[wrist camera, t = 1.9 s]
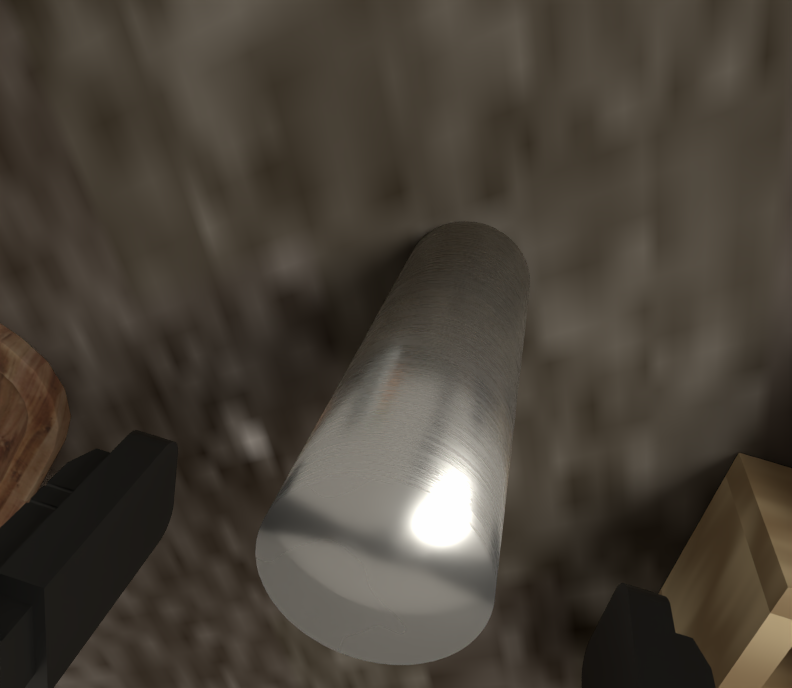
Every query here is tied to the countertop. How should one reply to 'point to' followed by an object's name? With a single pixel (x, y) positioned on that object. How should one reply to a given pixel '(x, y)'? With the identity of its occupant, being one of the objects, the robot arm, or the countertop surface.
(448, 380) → the hinge pin
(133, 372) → the countertop surface
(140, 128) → the countertop surface
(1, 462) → the chopping board
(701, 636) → the hinge
